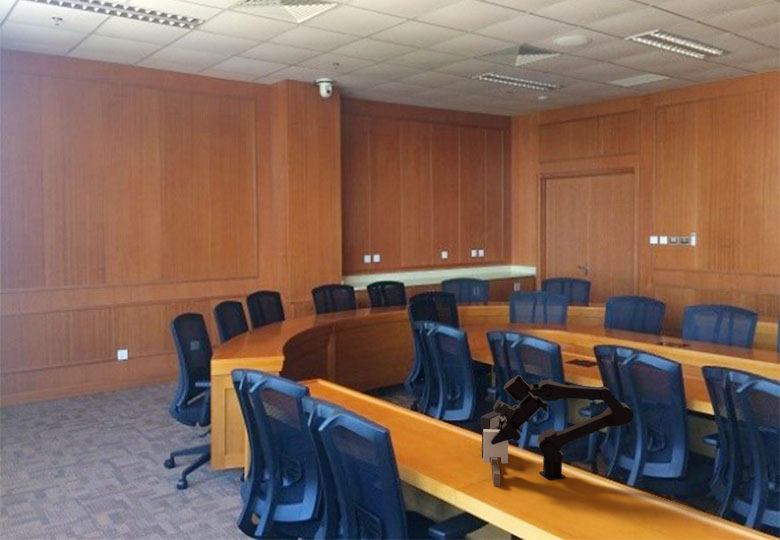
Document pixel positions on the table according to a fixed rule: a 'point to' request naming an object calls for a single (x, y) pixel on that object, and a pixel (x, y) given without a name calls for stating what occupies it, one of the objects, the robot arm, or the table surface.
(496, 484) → the slotted beam
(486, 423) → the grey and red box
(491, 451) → the notched plate
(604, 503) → the table surface
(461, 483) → the table surface
